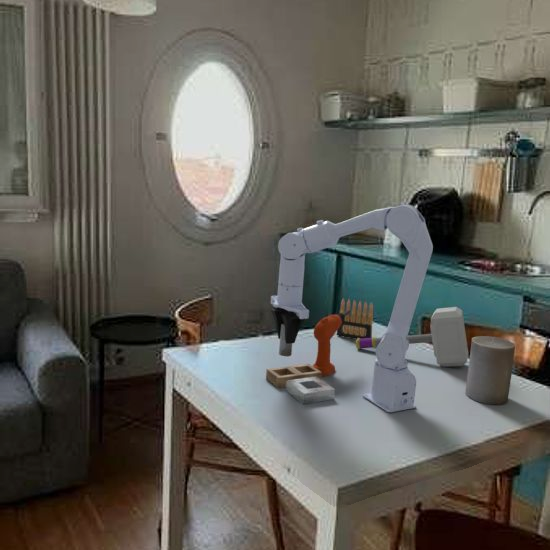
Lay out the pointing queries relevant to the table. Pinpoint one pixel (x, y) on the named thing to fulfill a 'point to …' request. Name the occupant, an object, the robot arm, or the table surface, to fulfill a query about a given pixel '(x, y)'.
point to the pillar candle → (490, 370)
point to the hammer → (438, 337)
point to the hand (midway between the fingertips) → (286, 340)
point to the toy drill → (327, 341)
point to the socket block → (310, 390)
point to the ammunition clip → (356, 321)
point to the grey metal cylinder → (284, 343)
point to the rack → (291, 374)
